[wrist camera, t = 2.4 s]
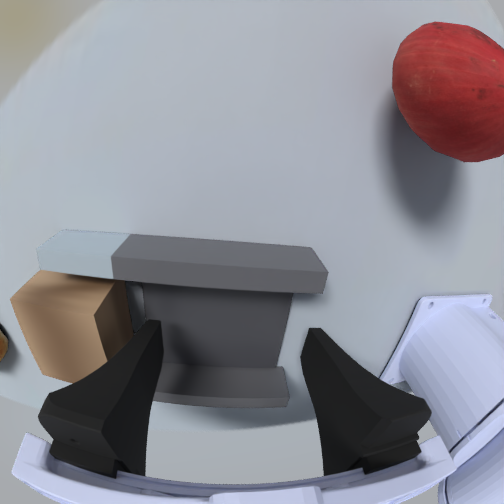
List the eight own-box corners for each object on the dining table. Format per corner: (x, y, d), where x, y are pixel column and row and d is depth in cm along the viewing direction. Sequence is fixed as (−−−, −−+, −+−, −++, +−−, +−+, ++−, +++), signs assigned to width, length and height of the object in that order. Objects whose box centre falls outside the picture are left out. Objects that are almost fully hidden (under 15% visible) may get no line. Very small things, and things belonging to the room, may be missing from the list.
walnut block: (124, 268, 13) (93, 315, 9) (136, 343, 15) (119, 394, 11) (49, 262, 12) (9, 298, 8) (68, 331, 14) (42, 374, 10)
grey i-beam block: (311, 247, 13) (328, 271, 11) (279, 376, 16) (286, 407, 14) (62, 229, 11) (36, 249, 9) (92, 359, 15) (80, 385, 13)
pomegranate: (360, 27, 9) (475, -35, 1) (447, 65, 9) (560, 60, 2) (356, 137, 11) (502, 160, 4) (443, 160, 11) (564, 201, 4)
